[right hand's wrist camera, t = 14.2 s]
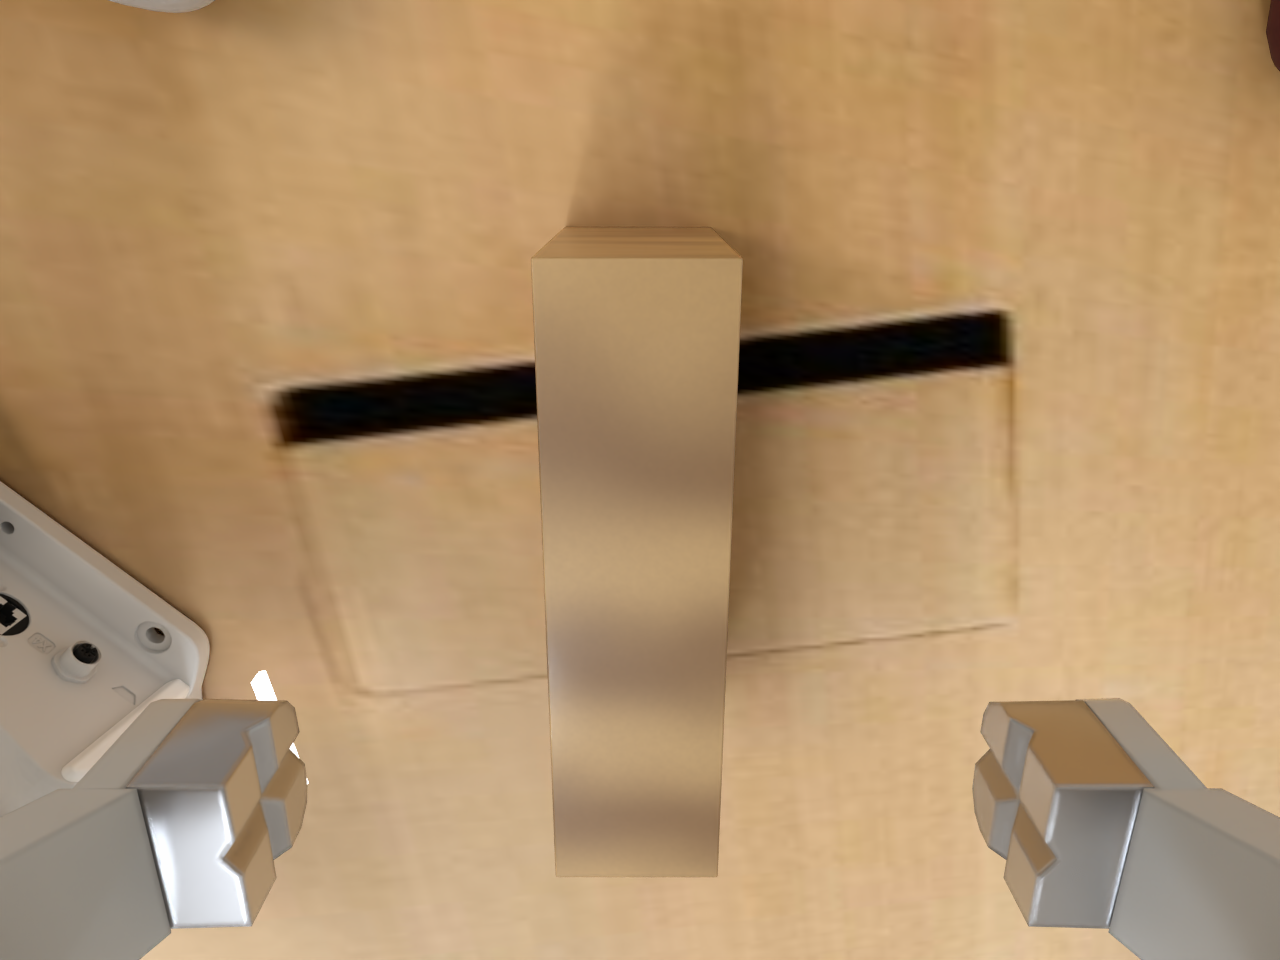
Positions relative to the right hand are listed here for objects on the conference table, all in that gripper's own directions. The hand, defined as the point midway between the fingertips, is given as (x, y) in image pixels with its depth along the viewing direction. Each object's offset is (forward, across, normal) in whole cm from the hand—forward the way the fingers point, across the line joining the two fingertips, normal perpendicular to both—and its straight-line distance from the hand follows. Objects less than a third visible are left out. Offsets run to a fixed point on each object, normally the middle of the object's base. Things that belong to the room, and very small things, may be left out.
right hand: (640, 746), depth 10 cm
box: (+28, 0, +7) cm, 29 cm away
